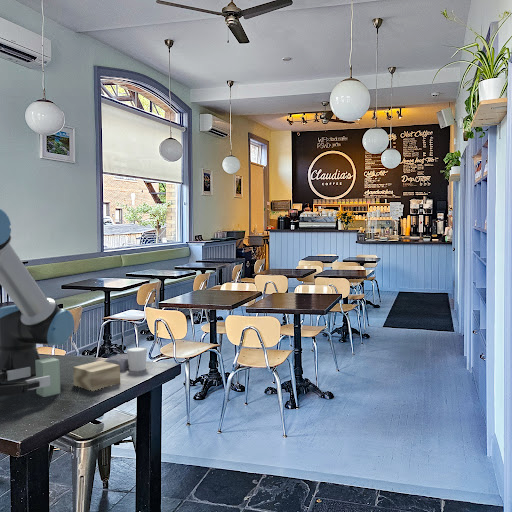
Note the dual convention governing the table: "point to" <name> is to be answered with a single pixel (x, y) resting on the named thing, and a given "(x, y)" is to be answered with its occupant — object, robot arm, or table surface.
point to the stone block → (119, 361)
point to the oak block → (96, 375)
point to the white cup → (137, 358)
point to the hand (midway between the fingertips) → (39, 375)
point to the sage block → (48, 369)
